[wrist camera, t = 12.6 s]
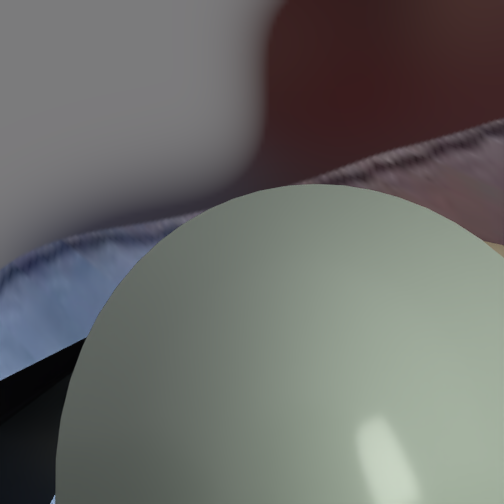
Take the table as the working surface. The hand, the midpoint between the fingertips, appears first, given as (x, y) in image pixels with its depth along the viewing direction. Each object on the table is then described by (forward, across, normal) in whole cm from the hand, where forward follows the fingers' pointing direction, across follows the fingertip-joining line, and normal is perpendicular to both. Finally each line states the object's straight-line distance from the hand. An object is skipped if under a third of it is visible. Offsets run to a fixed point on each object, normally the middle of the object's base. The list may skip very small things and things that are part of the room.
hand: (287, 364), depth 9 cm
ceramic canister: (+5, 0, +6) cm, 8 cm away
